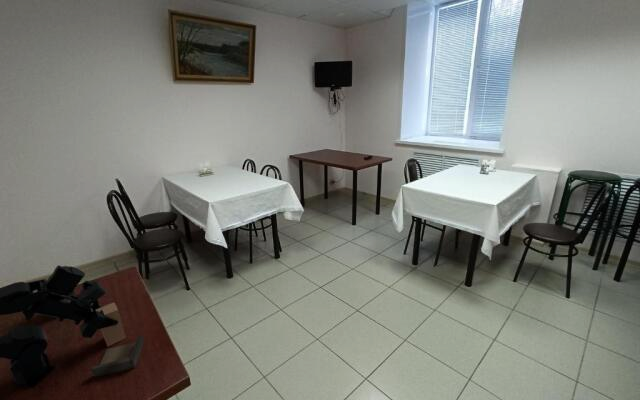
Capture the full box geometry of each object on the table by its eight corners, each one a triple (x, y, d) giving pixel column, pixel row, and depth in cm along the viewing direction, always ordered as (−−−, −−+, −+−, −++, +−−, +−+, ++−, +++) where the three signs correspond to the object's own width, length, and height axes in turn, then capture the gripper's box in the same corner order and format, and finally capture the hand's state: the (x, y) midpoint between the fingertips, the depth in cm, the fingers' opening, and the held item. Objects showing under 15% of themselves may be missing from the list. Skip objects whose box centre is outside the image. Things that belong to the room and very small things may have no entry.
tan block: (107, 346, 92) (98, 317, 88) (103, 338, 95) (95, 309, 92) (126, 337, 95) (118, 309, 92) (121, 330, 98) (114, 302, 95)
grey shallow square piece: (94, 377, 82) (91, 369, 81) (107, 349, 91) (105, 342, 90) (135, 367, 84) (133, 359, 83) (143, 342, 93) (141, 334, 92)
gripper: (86, 294, 79) (140, 308, 90) (74, 268, 91) (123, 284, 102) (56, 333, 76) (116, 343, 87) (49, 301, 88) (102, 314, 99)
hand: (115, 318), depth 94 cm, fingers closed on tan block, 5 cm apart
